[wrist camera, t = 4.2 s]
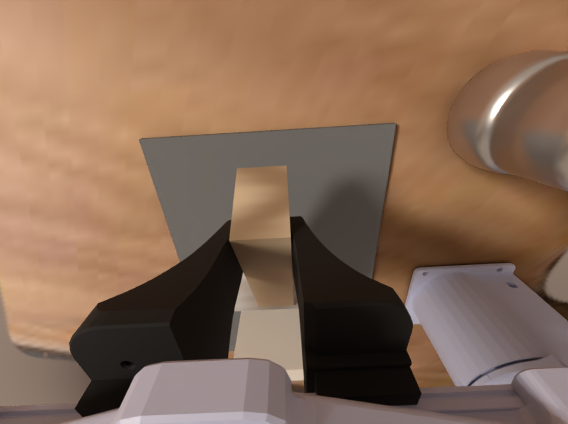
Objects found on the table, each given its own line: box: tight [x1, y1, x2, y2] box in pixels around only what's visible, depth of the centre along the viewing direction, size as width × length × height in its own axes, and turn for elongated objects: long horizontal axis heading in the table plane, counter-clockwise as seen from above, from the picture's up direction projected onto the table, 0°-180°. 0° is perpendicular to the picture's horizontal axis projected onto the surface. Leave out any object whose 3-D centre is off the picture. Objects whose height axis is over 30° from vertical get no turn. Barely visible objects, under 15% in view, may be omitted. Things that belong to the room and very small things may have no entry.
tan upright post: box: [229, 165, 298, 311], centre depth 15 cm, size 6×10×4 cm, turn 3°
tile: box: [234, 308, 304, 381], centre depth 21 cm, size 7×2×8 cm, turn 93°
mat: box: [139, 123, 396, 351], centre depth 24 cm, size 18×25×1 cm
